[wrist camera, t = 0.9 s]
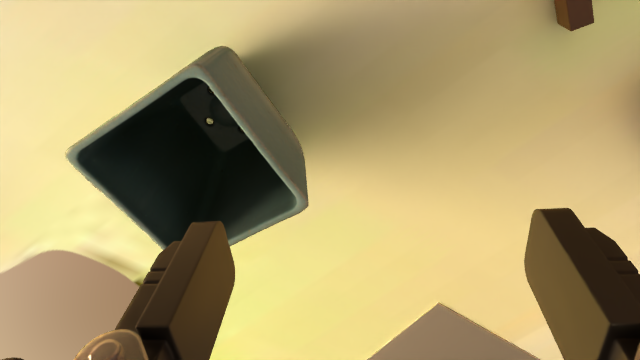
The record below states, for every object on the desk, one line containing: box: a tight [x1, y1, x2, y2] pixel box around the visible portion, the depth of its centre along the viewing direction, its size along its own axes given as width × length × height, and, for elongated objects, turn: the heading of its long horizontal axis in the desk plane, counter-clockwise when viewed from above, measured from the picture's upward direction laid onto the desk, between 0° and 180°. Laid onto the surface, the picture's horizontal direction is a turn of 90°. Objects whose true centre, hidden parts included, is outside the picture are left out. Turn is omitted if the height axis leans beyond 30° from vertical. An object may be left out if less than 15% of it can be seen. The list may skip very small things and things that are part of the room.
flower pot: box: [65, 46, 308, 250], centre depth 25 cm, size 9×9×9 cm
